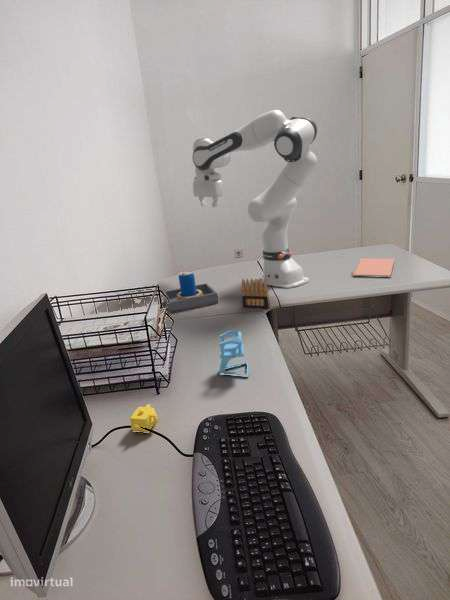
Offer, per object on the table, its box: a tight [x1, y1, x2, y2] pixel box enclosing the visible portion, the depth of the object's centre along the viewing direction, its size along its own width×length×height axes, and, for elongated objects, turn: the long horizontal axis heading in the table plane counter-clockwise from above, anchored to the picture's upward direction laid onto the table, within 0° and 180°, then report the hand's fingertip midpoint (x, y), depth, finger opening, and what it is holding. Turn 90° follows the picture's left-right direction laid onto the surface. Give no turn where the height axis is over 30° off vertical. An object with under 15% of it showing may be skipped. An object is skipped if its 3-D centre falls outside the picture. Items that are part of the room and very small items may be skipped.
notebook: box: [350, 257, 395, 277], centre depth 189 cm, size 27×17×2 cm, turn 155°
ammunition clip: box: [241, 278, 271, 310], centre depth 157 cm, size 11×2×12 cm, turn 69°
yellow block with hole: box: [129, 404, 159, 432], centre depth 93 cm, size 8×6×5 cm
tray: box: [162, 282, 219, 314], centre depth 172 cm, size 16×20×4 cm
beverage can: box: [178, 270, 197, 297], centre depth 171 cm, size 6×6×12 cm
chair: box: [218, 330, 250, 375], centre depth 112 cm, size 8×8×12 cm
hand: (209, 206), depth 193 cm, fingers open, 8 cm apart
